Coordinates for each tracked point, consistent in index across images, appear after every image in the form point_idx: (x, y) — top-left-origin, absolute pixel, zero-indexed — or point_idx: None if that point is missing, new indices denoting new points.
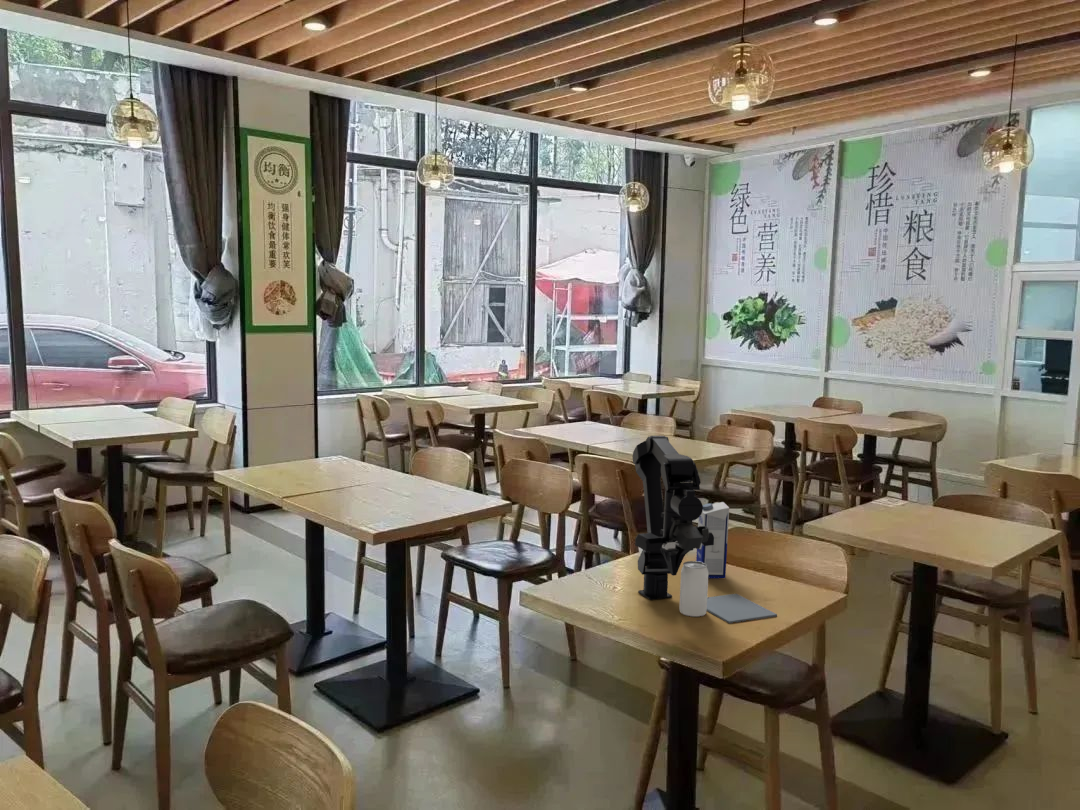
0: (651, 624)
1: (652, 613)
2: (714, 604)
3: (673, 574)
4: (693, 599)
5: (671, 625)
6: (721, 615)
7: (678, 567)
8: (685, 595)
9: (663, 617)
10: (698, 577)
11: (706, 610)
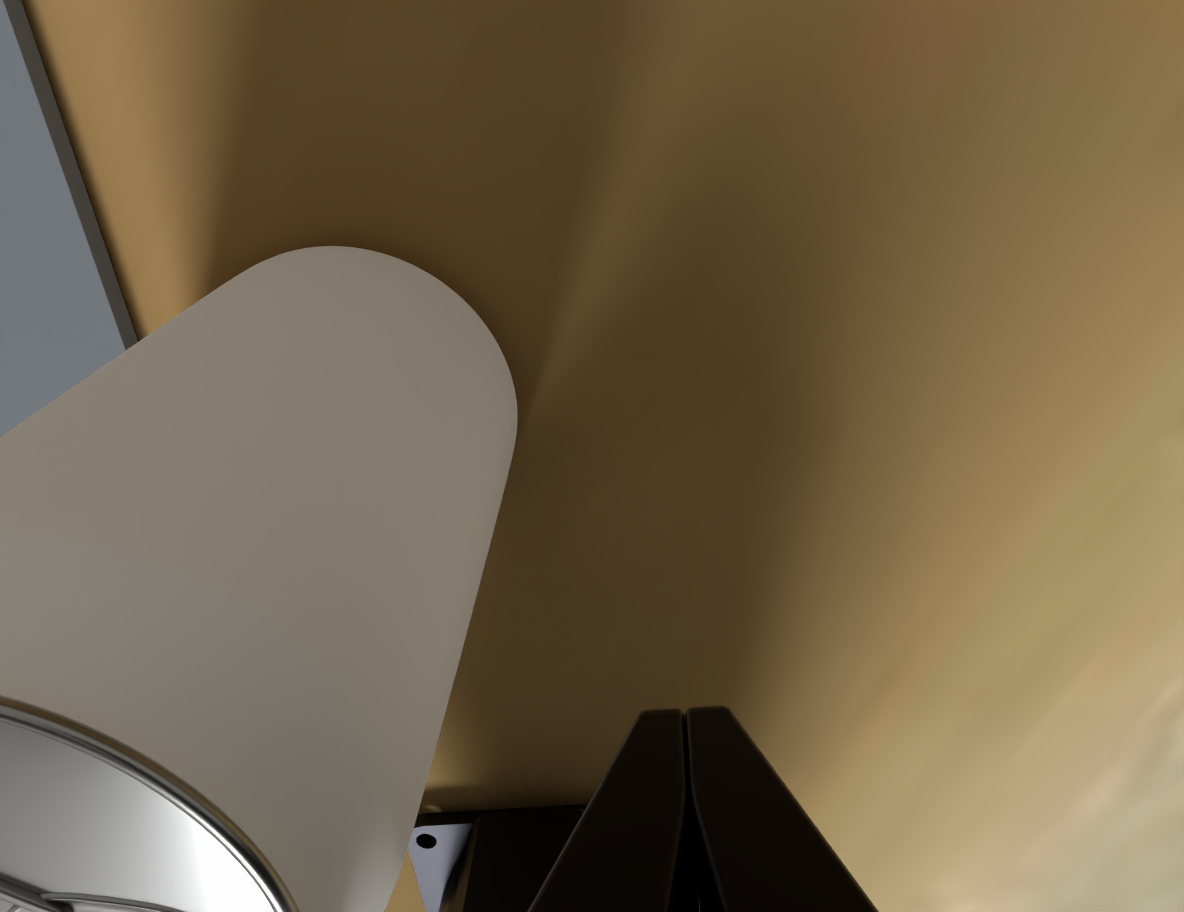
0: (1089, 150)
1: (847, 492)
2: None
3: (725, 718)
4: (360, 336)
5: (844, 45)
6: (24, 169)
7: (597, 846)
8: (457, 448)
9: (789, 346)
10: (100, 499)
11: None
